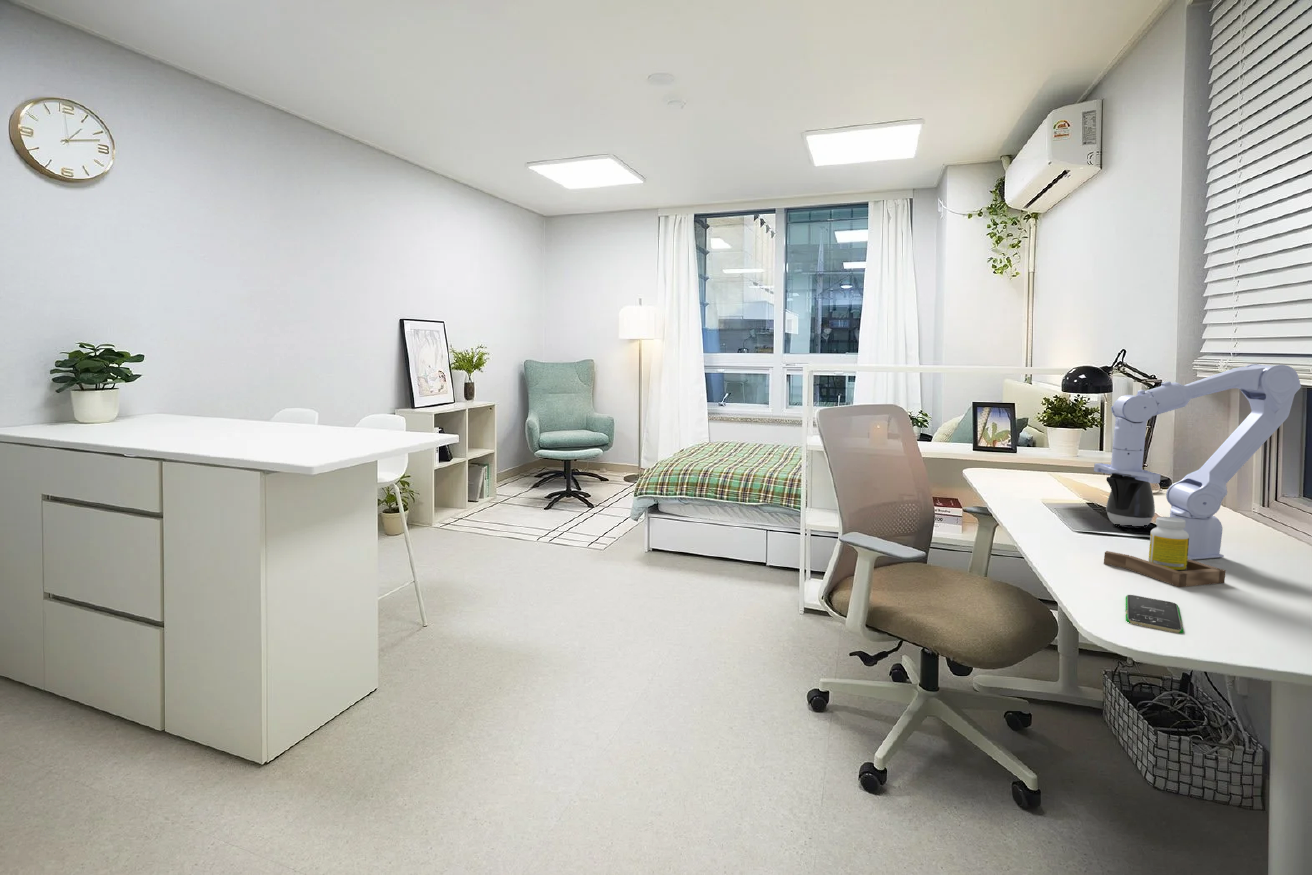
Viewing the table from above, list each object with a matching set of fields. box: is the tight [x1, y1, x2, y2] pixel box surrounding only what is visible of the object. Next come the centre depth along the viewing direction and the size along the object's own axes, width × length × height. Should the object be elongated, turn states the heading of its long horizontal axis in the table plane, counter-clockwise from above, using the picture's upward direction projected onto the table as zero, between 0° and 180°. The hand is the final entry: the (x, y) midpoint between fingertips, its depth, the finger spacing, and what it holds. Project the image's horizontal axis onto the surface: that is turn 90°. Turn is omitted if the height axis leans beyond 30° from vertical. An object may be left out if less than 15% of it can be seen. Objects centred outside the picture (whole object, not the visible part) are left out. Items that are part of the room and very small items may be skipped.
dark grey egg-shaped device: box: [1105, 474, 1156, 526], centre depth 169 cm, size 10×10×15 cm
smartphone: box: [1125, 594, 1184, 634], centre depth 113 cm, size 8×1×15 cm
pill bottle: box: [1148, 516, 1189, 571], centre depth 134 cm, size 6×6×11 cm
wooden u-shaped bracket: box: [1103, 550, 1227, 588], centre depth 135 cm, size 15×15×2 cm
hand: (1122, 508), depth 149 cm, fingers closed
